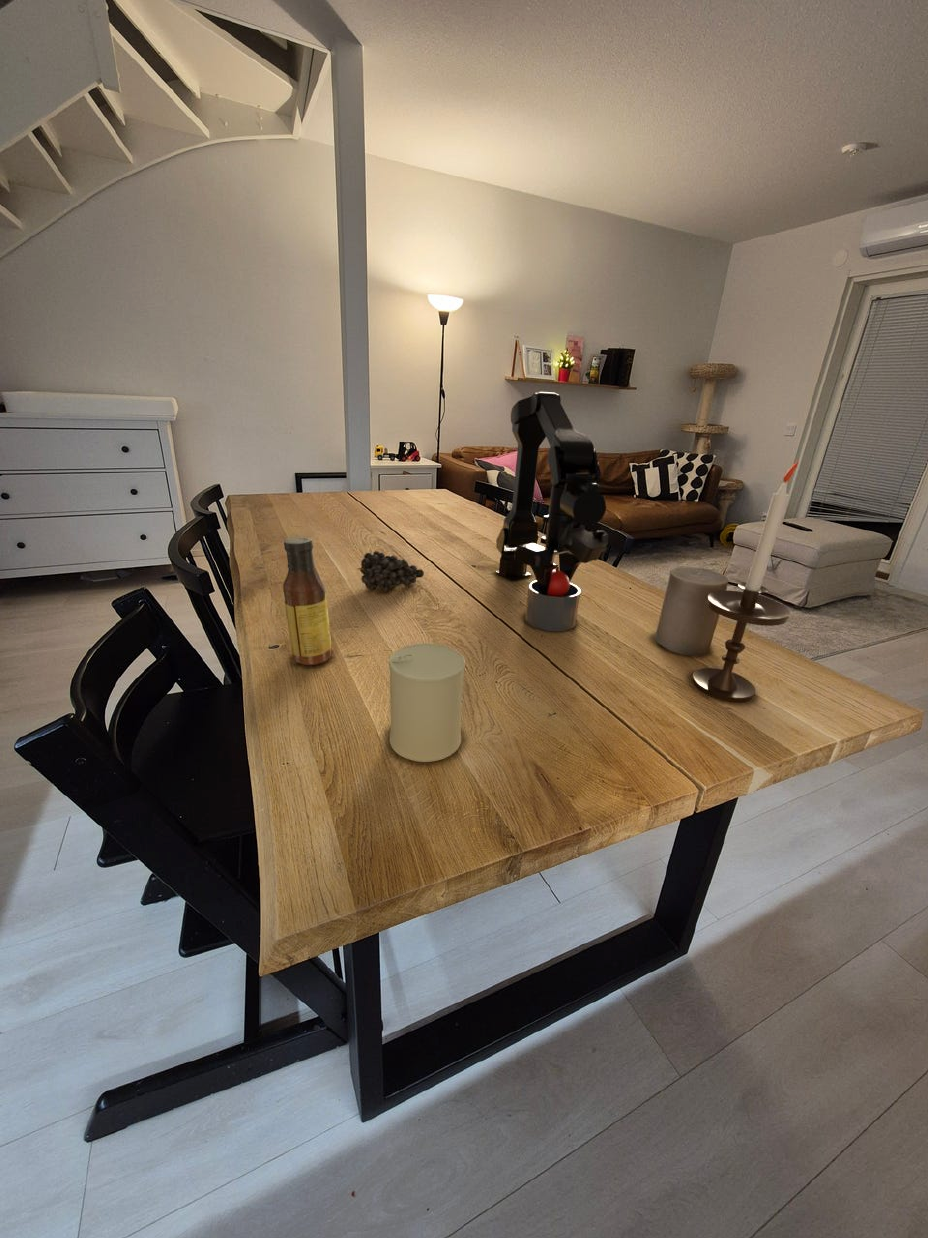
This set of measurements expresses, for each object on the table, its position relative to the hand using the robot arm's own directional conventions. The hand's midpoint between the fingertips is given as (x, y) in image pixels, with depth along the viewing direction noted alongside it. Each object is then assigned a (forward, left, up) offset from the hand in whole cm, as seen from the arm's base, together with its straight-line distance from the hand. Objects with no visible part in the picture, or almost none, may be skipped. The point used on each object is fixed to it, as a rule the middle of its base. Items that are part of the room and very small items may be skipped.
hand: (553, 591), depth 98 cm
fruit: (+17, -32, -6) cm, 37 cm away
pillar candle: (-13, +21, -6) cm, 26 cm away
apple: (0, 0, -1) cm, 1 cm away
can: (+42, +16, -6) cm, 45 cm away
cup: (0, 0, -6) cm, 6 cm away
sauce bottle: (+45, -12, -6) cm, 47 cm away
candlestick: (-4, +33, -6) cm, 34 cm away
